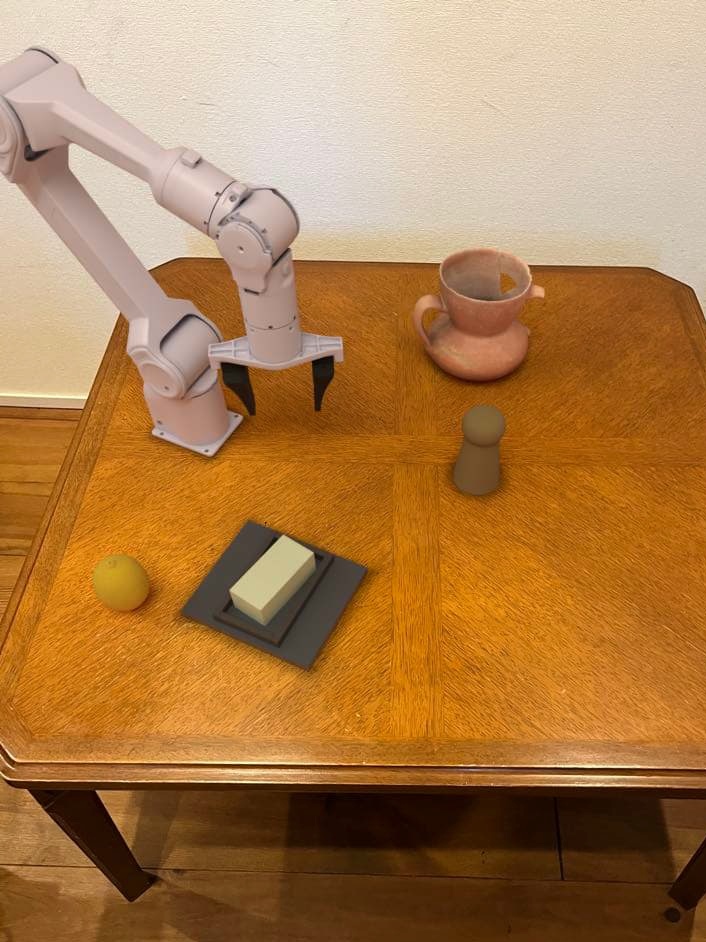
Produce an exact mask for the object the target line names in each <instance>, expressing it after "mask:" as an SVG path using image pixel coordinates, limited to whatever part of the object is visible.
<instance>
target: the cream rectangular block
mask: <svg viewBox="0 0 706 942" xmlns="http://www.w3.org/2000/svg"><path fill="white" fill-rule="evenodd" d="M285 535H286V534H285ZM285 535H282V536H281V537H280V539H279V540H278V541H277V542H276V543H275V544H274V545H273V546H272V547H271V548H270V549H269V550H268V551H267V552H266V553H265V554H264V555H263V556H262V557H261V558H260V559H259V560H258V561H257V562H256V563H255V564H254V565H253V566H252V567H251V568H250V569H249V570H248V571H247V572H246V574H245V575H244V576H243V577H242V578H241V579H240V580H239V581H238V582H237V583H236V584H235V585H234V586H233V587H232V588H231V589H230V590H229V591H230V594H231V597H232V600H233V603H234V606H235V607H236V608H237V609H239V610H241V611H242V612H244V613H245V614H247V615H248V616H250V617H251V618H253V619H254V620H256V621H257V622H259V623H260V624H262V625H264V626H266V625H267V624H268V623H269V622H270V620H271V619H272V618H273V617H274V616H275V615H276V614H277V613H278V612H279V611H280V609H281V608H282V607H283V606H284V605H285V604H286V603H287V602H288V601H289V600H290V598H291V597H292V596H293V595H294V594H295V593H296V592H297V591H298V590H299V588H300V587H301V586H302V585H303V584H304V583H305V582H306V581H307V580H308V579H309V577H310V576H311V575H312V574H313V573H314V572H315V571H316V565H315V558H314V553H313V552H312V551H310V550H308V549H307V548H305V547H303V546H302V545H300V544H298V543H297V542H295V541H293V540H292V539H290V538H288V537H287V536H288V535H287V536H285Z"/></svg>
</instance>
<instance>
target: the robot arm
mask: <svg viewBox="0 0 706 942" xmlns="http://www.w3.org/2000/svg"><path fill="white" fill-rule="evenodd" d="M71 144H74V145H77V146H79V147H80V148H82V149H84V150H86V151H88V152H90V153H91V154H94V155H96V156H97V157H99V158H101V159H103V160H104V161H106V162H108V163H110V164H111V165H114V166H116V167H118V168H119V169H121V170H123V171H125V172H126V173H129V174H130V175H132V176H134V177H136V178H138V179H139V180H142V181H143V182H145V183H147V184H148V186H149V188H150V190H151V193H152V197H153V199H154V201H155V203H156V204H157V205H159V206H160V207H161V208H163V209H165V210H166V211H168V212H169V213H170V214H173V215H174V216H175V217H177V218H179V219H180V220H182V221H184V222H185V223H186V224H188V225H189V226H191V227H193V228H195V229H196V230H198V231H199V232H201V233H202V234H203V235H205V236H207V237H208V238H210V239H212V240H213V241H214V244H215V246H216V249H217V251H218V253H219V255H220V256H221V258H222V259H223V260H224V261H225V263H226V264H227V265H228V267H229V269H230V271H231V276H232V281H234V282H235V284H236V285H237V290H238V295H239V300H240V301H239V302H240V306H241V312H242V317H243V322H244V328H245V333H246V335H245V336H241V337H238V338H237V337H236V338H234V339H231V340H227V341H225V340H224V336H223V334H222V333H221V331H220V328H218V326H217V325H216V324H215V322H213V321H212V320H211V319H210V318H208V317H207V316H205V314H203V313H202V312H201V311H200V310H199V309H198V308H197V306H196V305H195V304H194V302H193V301H192V300H189V299H183V298H175V297H169V296H168V295H167V293H166V292H164V289H162V288H161V286H160V285H159V283H158V282H157V281H156V279H155V278H154V277H153V276H152V275H151V273H150V272H149V271H148V269H147V268H146V267H145V265H144V264H143V262H142V261H141V260H140V259H139V258H138V256H137V255H136V254H135V252H134V251H133V250H132V249H131V247H130V246H129V245H128V243H127V242H126V241H125V239H124V238H123V237H122V235H121V234H120V232H119V231H118V230H117V228H116V227H115V226H114V224H112V222H111V220H109V218H108V217H107V216H106V214H105V213H104V211H103V210H102V209H101V208H100V206H99V205H98V204H97V203H96V202H95V200H94V199H93V198H92V196H91V195H90V194H89V192H88V191H87V190H86V188H85V187H84V186H83V183H81V181H79V179H78V178H77V177H76V175H75V174H74V172H72V170H71V167H70V164H69V161H70V159H69V157H70V155H69V153H70V152H69V150H70V149H69V147H70V145H71ZM0 173H1V175H3V177H4V178H5V179H6V180H7V181H8V183H9V184H15V186H16V187H17V188H18V189H19V190H20V192H21V193H22V194H23V195H24V196H25V197H26V199H27V200H28V201H29V203H30V204H31V205H32V206H33V207H34V209H35V210H36V211H37V212H38V213H39V215H40V216H41V217H42V218H43V219H44V221H45V222H46V224H47V225H49V227H50V228H51V230H52V231H54V233H55V234H56V235H57V237H58V238H59V239H60V241H61V242H62V243H63V244H64V245H65V246H66V248H67V249H68V250H69V251H70V253H71V254H72V255H73V257H75V259H76V260H77V261H78V262H79V263H80V265H81V266H82V267H83V268H84V270H86V272H87V273H88V275H89V276H90V277H91V279H93V281H94V282H95V283H96V284H97V286H98V287H99V288H100V289H101V290H102V291H103V292H104V294H105V295H106V296H107V297H108V299H109V300H110V301H111V303H112V304H113V305H114V306H115V307H116V309H117V310H118V311H119V313H121V315H122V316H123V317H124V318H125V320H126V321H127V322H128V324H129V325H128V326H129V327H128V334H127V335H128V336H127V343H126V354H127V355H128V357H130V359H131V360H132V361H133V363H134V364H135V366H136V368H137V370H138V372H139V375H140V377H141V379H142V380H143V388H142V392H143V393H142V394H143V397H144V400H145V403H146V406H147V408H148V411H149V415H150V417H151V419H152V423H153V425H154V428H152V431H151V434H152V436H153V437H156V438H159V439H161V440H164V441H165V442H166V441H167V442H170V443H172V444H173V445H177V446H179V447H182V448H185V449H188V450H190V451H193V452H195V453H198V454H201V455H203V456H206V457H208V458H211V457H214V455H216V453H218V451H219V450H220V448H222V446H223V445H224V444H225V442H226V441H227V440H228V439H229V437H231V436H232V434H233V433H234V432H235V431H236V429H238V427H239V426H240V425H241V424H242V422H243V421H244V416H243V415H242V414H239V413H236V412H234V411H231V410H228V408H227V404H226V399H225V397H224V392H223V389H222V383H221V379H222V382H223V385H224V386H225V387H227V388H228V389H230V391H232V392H233V393H234V394H235V396H237V397H238V399H239V400H240V401H241V402H242V404H243V406H244V407H245V409H246V411H247V413H248V415H249V417H256V412H257V410H256V408H257V407H256V398H255V392H254V390H253V386H252V381H251V378H250V372H249V367H251V368H257V369H263V370H268V371H283V370H286V369H290V368H293V367H296V366H299V365H302V364H305V363H308V362H311V372H312V373H311V374H312V375H311V377H312V383H313V402H314V403H313V406H314V412H315V413H316V412H318V413H319V412H322V403H323V399H324V396H325V394H326V391H327V389H328V387H329V386H330V384H331V383H332V381H333V380H334V376H335V374H336V373H335V363H342V362H344V361H345V359H344V344H343V337H342V336H327V335H320V334H315V333H308V332H303V331H301V324H300V314H299V306H298V304H299V303H298V296H297V289H296V288H297V287H296V280H295V279H296V277H295V271H294V262H293V254H292V248H291V247H290V246H291V245H292V244H293V243H294V242H295V240H296V239H297V237H298V236H299V233H300V231H301V230H300V229H301V220H300V216H299V214H298V211H297V209H296V207H295V205H294V204H293V202H292V201H291V200H290V199H289V198H288V196H286V195H285V194H284V193H282V192H281V190H279V189H278V188H277V187H276V186H273V185H270V184H256V185H255V184H252V183H251V182H249V181H247V182H243V183H242V182H240V181H239V180H238V179H236V178H234V177H233V176H231V175H230V174H228V173H227V172H225V171H224V170H222V169H220V168H219V167H217V166H216V165H214V164H212V163H211V162H210V161H208V160H206V158H203V155H202V154H201V153H199V152H198V151H196V150H195V149H193V148H188V147H186V146H183V145H182V146H176V147H173V148H168V149H166V148H165V147H163V146H162V145H161V144H159V143H158V142H157V141H155V140H154V139H153V138H151V137H150V136H148V135H147V134H145V133H144V132H143V131H142V130H140V129H139V128H138V127H136V126H135V125H134V124H133V123H131V122H130V121H129V120H127V119H126V118H124V116H122V115H121V114H119V113H118V112H117V111H115V110H114V109H112V108H111V107H110V106H108V105H107V104H105V102H103V101H102V100H101V99H99V98H98V97H97V96H95V95H94V94H93V93H91V91H88V89H87V87H86V84H85V82H84V79H83V78H82V76H81V74H80V72H79V71H78V69H77V67H76V66H75V65H73V64H71V63H70V62H67V61H65V60H63V59H62V58H61V57H60V56H59V55H58V54H56V52H55V51H53V50H52V49H49V48H47V47H45V46H43V45H31V46H29V47H28V48H26V49H24V50H23V53H21V54H19V55H17V56H16V57H14V58H12V59H10V60H9V61H7V62H5V63H3V64H1V65H0ZM220 369H221V379H220V376H219V372H218V371H219V370H220Z"/></svg>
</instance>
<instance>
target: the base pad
mask: <svg viewBox="0 0 706 942" xmlns="http://www.w3.org/2000/svg"><path fill="white" fill-rule="evenodd" d="M282 535H285V536H287V537H288V538H290V539H292V540H293V541H295V542H297V543H298V544H300V545H302V546H303V547H305V548H307V549H308V550H310V551H312V552H313V553H314V558H315V565H316V571H315V572H314V573H313V574H312V575H311V576H310V577H309V579H308V580H307V581H306V582H305V583H304V584H303V585H302V586H301V587H300V588H299V590H298V591H297V592H296V593H295V594H294V595H293V596H292V597H291V598H290V600H289V601H288V602H287V603H286V604H285V605H284V606H283V607H282V608H281V609H280V611H279V612H278V613H277V614H276V615H275V616H274V617H273V618H272V619H271V620H270V622H269V623H268V624H267V625H266V626H264V625H262V624H260V623H259V622H257V621H256V620H254V619H253V618H251V617H250V616H248V615H247V614H245V613H244V612H242V611H241V610H239V609H237V608H236V607H235V606H234V603H233V600H232V597H231V594H230V591H229V590H230V589H231V588H232V587H233V586H234V585H235V584H236V583H237V582H238V581H239V580H240V579H241V578H242V577H243V576H244V575H245V574H246V572H247V571H248V570H249V569H250V568H251V567H252V566H253V565H254V564H255V563H256V562H257V561H258V560H259V559H260V558H261V557H262V556H263V555H264V554H265V553H266V552H267V551H268V550H269V549H270V548H271V547H272V546H273V545H274V544H275V543H276V542H277V541H278V540H279V539H280V537H281V536H282ZM368 572H369V571H368V567H367V566H365V565H362V564H359V563H357V562H354V561H352V560H349V559H347V558H345V557H342V556H339V555H337V554H335V553H332V552H330V551H327V550H324V549H323V548H319V547H317V546H314V545H312V544H309V543H307V542H304V541H302V540H299V539H297V538H294V537H292V536H289V535H287V534H284V533H282V532H280V531H277V530H274V529H272V528H269V527H267V526H264V525H263V524H260V523H257V522H255V521H253V520H249V519H248V520H246V522H245V524H244V525H243V526H242V528H241V529H240V530H239V532H238V533H237V535H235V537H234V538H233V539H232V541H231V542H230V543H229V545H228V546H227V547H226V549H225V550H224V552H223V553H222V554H221V555H220V557H219V558H218V560H217V561H216V562H215V564H214V565H213V567H212V568H211V569H210V571H209V572H208V573H207V574H206V576H205V577H204V578H203V580H202V581H201V582H200V584H199V585H198V587H197V588H196V589H195V591H193V593H192V595H191V596H190V598H189V599H188V600H187V601H186V603H185V604H184V606H182V608H181V610H180V611H179V612H180V613H181V616H182V617H183V618H187V619H189V620H191V621H194V622H196V623H198V624H200V625H203V626H204V627H206V628H209V629H211V630H214V631H215V632H218V633H221V634H223V635H225V636H227V637H230V638H231V639H234V640H236V641H239V642H241V643H243V644H246V645H247V646H249V647H251V648H254V649H256V650H259V651H261V652H263V653H265V654H268V655H270V656H272V657H274V658H276V659H279V660H281V661H282V662H285V663H288V664H290V665H292V666H294V667H296V668H299V669H301V670H303V671H306V672H307V673H309V672H310V671H311V669H312V667H313V666H314V664H315V662H316V660H317V659H318V657H319V656H320V654H321V652H322V651H323V648H324V647H325V645H326V644H327V642H328V640H329V638H330V637H331V635H332V633H333V632H334V630H335V628H336V626H337V625H338V624H339V621H340V620H341V618H342V616H343V615H344V613H345V612H346V610H347V608H348V606H349V605H350V603H351V601H352V599H353V598H354V596H355V595H356V593H357V591H358V589H359V588H360V587H361V584H362V583H363V581H364V579H365V578H366V576H367V574H368Z"/></svg>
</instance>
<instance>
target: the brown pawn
mask: <svg viewBox="0 0 706 942" xmlns="http://www.w3.org/2000/svg"><path fill="white" fill-rule="evenodd" d="M506 430H507V421H506V418H505V416H504V414H503V412H502V411H500V409H498V408H497V407H495V406H494V405H489V404H477V405H475V406H472V407H470V409H468V410H467V411H466V412H465V413H464V415H463V418H462V420H461V431H462V434H463V440H462V443H461V446H460V449H459V452H458V455H457V459H456V462H455V466H454V468H453V472H452V481H453V483H454V485H455V486H456V487H457V489H459V490H460V491H462V492H463V493H465V494H468V495H472V496H484V495H488V494H490V493H492V492H494V491H495V490H496V489H497V488H498V486H499V484H500V481H501V480H500V479H501V478H500V477H501V476H500V475H501V473H500V470H501V469H500V466H501V465H500V463H501V462H500V441H501V440H502V439H503V437H504V435H505V433H506Z"/></svg>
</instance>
